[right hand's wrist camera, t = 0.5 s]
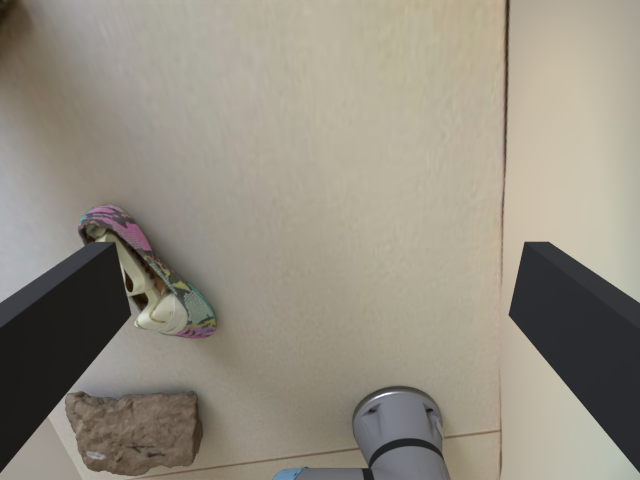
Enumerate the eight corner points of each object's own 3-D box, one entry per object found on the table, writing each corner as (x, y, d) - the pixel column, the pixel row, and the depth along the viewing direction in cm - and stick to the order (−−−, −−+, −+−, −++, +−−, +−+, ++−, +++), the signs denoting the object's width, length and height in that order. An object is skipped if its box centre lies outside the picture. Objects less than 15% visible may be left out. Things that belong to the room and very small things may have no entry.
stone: (79, 464, 66) (62, 492, 60) (71, 385, 63) (53, 406, 58) (204, 451, 70) (200, 476, 64) (201, 376, 67) (196, 395, 61)
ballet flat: (186, 342, 60) (166, 382, 52) (78, 217, 52) (34, 242, 44) (229, 320, 59) (215, 357, 51) (124, 188, 51) (87, 207, 43)
